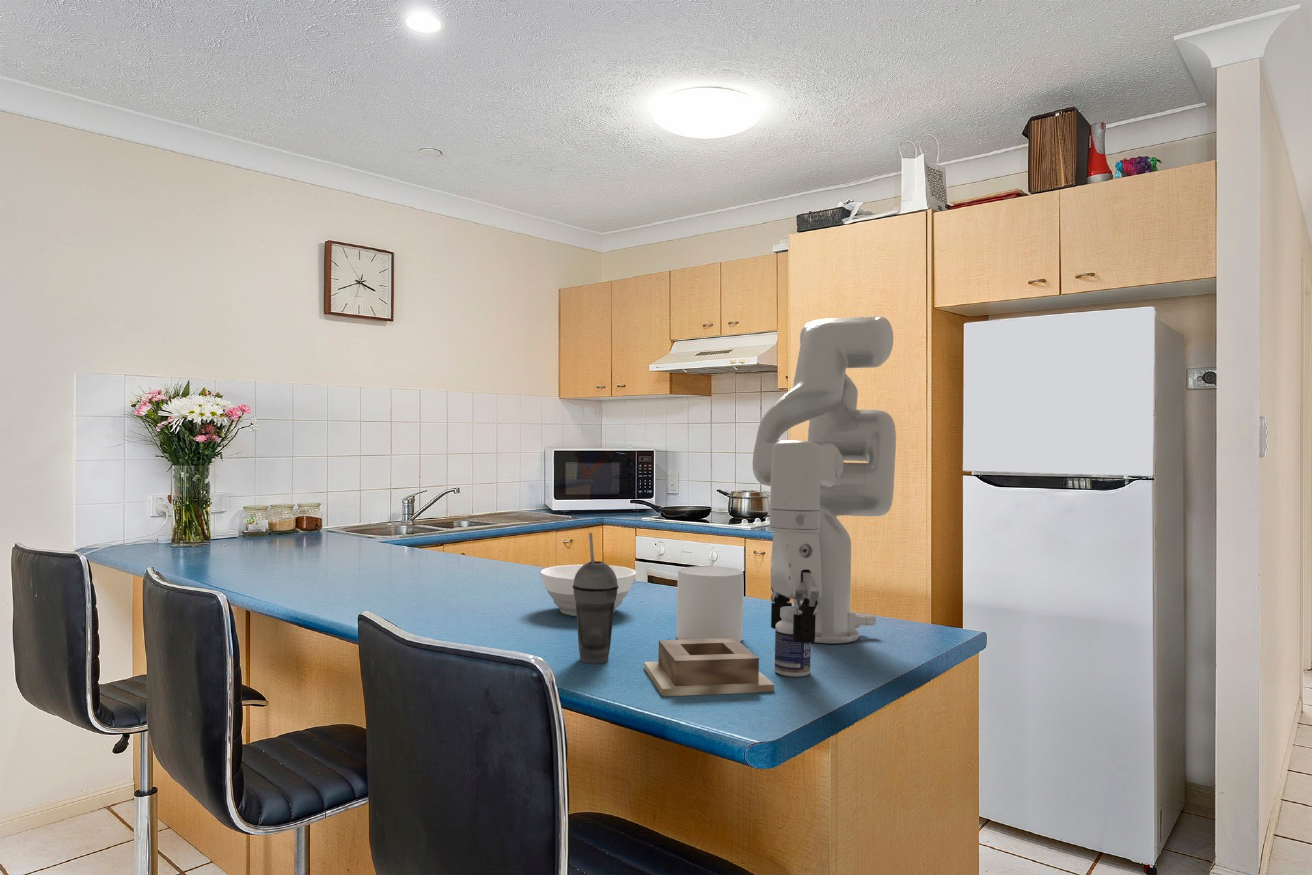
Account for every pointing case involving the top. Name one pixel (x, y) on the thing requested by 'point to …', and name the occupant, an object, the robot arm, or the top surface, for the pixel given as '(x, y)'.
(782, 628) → the pill bottle
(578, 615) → the beverage cup
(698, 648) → the hole block
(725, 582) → the white cylinder
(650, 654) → the top surface
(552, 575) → the bowl
